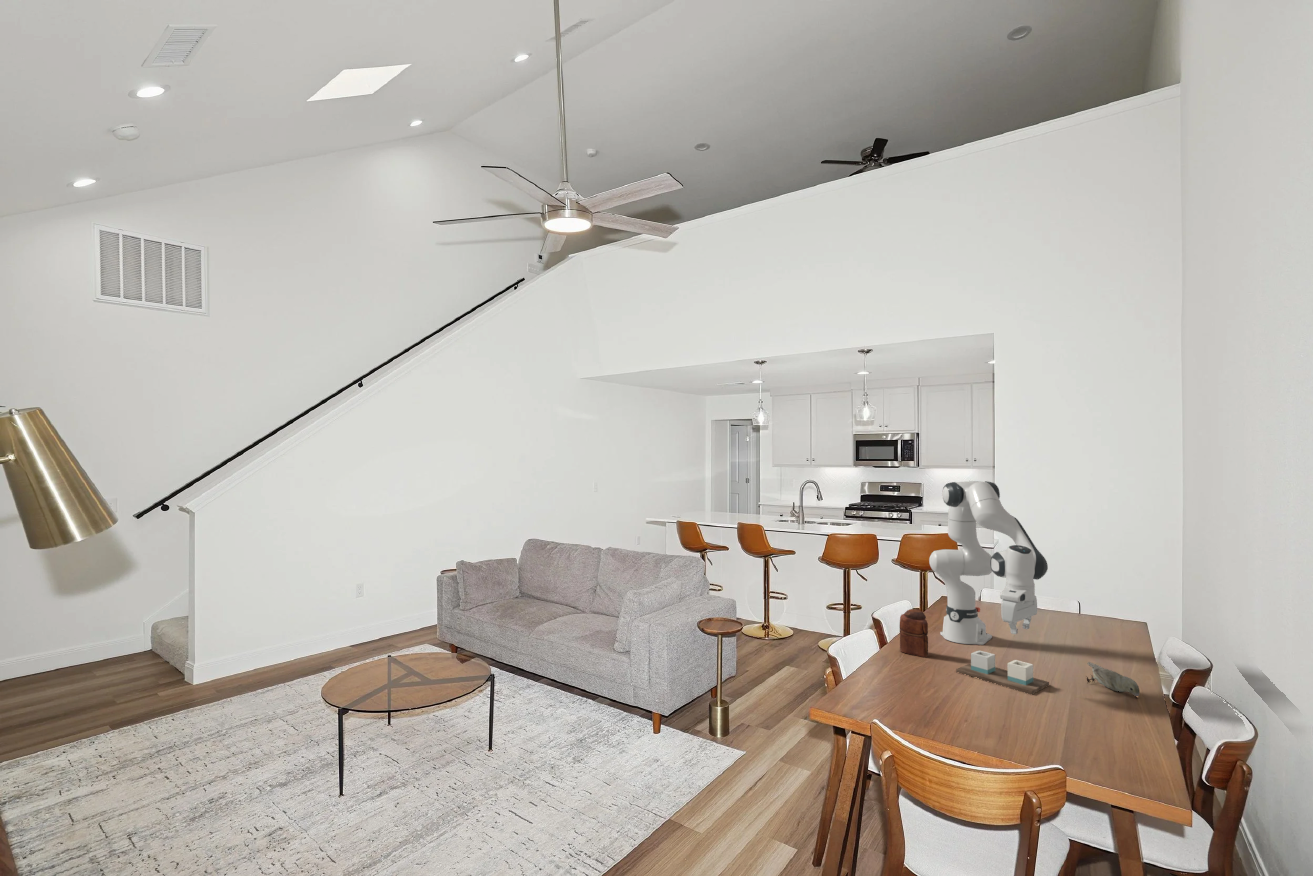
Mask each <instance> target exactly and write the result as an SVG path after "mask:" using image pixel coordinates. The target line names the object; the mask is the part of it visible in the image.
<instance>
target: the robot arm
mask: <svg viewBox="0 0 1313 876" xmlns="http://www.w3.org/2000/svg"><path fill="white" fill-rule="evenodd" d="M1000 493H1001V492H1000V489H999V487H998V485H997V484H996V483H995V482H991V481H988V480H987V481H980V480H969V481H959V482H956V481H952V482H947V483H946V484H945V485H944V486H943V488H942V493H941V494H942V495H941V496H942V499H943V503H944V504H945V505H946V506H948V514H947V515H948V516H947V534H948V537H949V538H950V539H951V540H952V541H954V542H955V543H958V544H959V545H961V546H962V549H948V548H947V549H946V548H944V549H943V548H942V549H938V550H933V552H931V554H930V556H929V558H928V561H929V562H928V563H929V566H930V568H931V570H932V571H933V572H934V573H936V574H937V575H938V576H939V577H940V578H941V579H942V581H943V583H944V585H945V587H946V596H947V597H946V599H947V605H946V608H945V611H946V615H944V616H943V624H942V631H940V632H939V634H940V635H941V636H942V638H944V639H945V640H947V641H948V642H949V641H950V642H953V643H957V644H965V645H979V646H981V645H982V646H983V645H985V644H986V643H988V642H989V641H990V640H991V639H992V638H993V635H992V634H990V633H988V632H987V628H986V627H987V625H986V623H985V622H984V621H983V620H982V619H981V618H980V617H979V615H978V613H980V612H981V607H978V606H976V590H975V589H974V587H972V586H971V585H970V584H968V583H966V582H965V581H962V580H961V576H965V577H966V576H967V577H968V576H970V577H972V576H973V577H981V576H988V575H991V573H993V574H994V575H996V576H997V577H1000V578H1006V581H1005V586H1004V588H1003V590H1002V591H1001V592H1000V594H999V598H1000V599H1001V603H1000V605H1001V607H1000V609H1001V611H1000V612H1001V619H1002V622H1005V623H1007V624H1008V626H1009V628H1010V634H1012V635H1017V634H1018V630H1019V629H1018V628H1017V625H1018V622H1020V621H1023V623H1022V629H1023V630H1029V629H1030V624H1031V621H1032V617H1034V616H1036V615H1037V613H1038V599H1037V596H1036V595H1035V593H1036V592H1035V591H1036V589H1035V588H1036V586H1035V581H1034V580H1036V581H1038V580H1040V579H1041V578H1043V577H1044V576H1045V575H1046V574H1047V572H1048V561H1047V559H1046V558H1045V556H1044V555H1043V554H1042V553H1041V552H1040V550H1038V548H1037V547H1036V545H1035V544H1034V542H1033V541H1032V539H1031V538H1030V536H1029V535H1028V533H1027V531H1026V530H1025V528H1024V526H1023V525H1022V524H1021V522H1020V521H1019V519H1018V518H1016V517H1015V516H1013V515H1012V514H1011V513H1009V511H1007V510H1006V508H1004V506H1003V504H1002V502H1001V500H1000V497H1001V494H1000ZM977 524H978V525H979V526H981V527H983V528H985V529H987V530H990V531H993V532H994V531H995V532H998V533H1002V534H1004V535H1006V536H1008V537H1009V538H1011V539H1012V541H1013V542H1014V544H1013V545H1012V544H1011V545H1009V546H1008V547H1007V549H1004V550H1001V551H996V552H995V553H993V554H992V555H991V554H990V553H989V552H988V551H987V550H985V549H984V548H983V547H982V546H981V544H980V542H979V540H978V539H979V538H978V534H977V533H978V532H977Z"/></svg>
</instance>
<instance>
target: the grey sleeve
mask: <svg viewBox="0 0 1313 876" xmlns="http://www.w3.org/2000/svg"><path fill="white" fill-rule="evenodd" d="M983 655H984V656H983ZM970 663H971V670H974V671H978V672H981V673H985V674H989V673H992V672H994V671H995V667H996V654H994V653H991V652H987V651H984V650H980V649H979V650H976V651H973V652H971V653H970Z"/></svg>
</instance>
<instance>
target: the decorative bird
mask: <svg viewBox="0 0 1313 876" xmlns="http://www.w3.org/2000/svg"><path fill="white" fill-rule="evenodd" d="M1087 665H1088V666H1089V667H1091V669H1092V673H1093V674H1092V675H1091V678H1090V679H1089V676H1086V681H1087V684H1089V683H1094V682H1095V681H1097V682H1098V683H1099V684H1100V685H1103V686H1104V687H1106V688H1108V689H1110V690H1112V691H1115V692H1118V691H1119V693H1125V692H1128V693H1130V694H1131V695H1132V696H1133V695H1134V696H1133V697H1135V696H1139V697H1140V687H1139V684H1138V683H1137V682H1136V681H1135V680H1134V679H1132V678H1131V677H1128V676H1125V675H1122V674H1120V673H1119V672H1116V671H1114V670H1111V669H1107V668H1104V667H1102V666H1101V665H1098V664H1097V663H1093V662H1090V661H1087ZM1091 681H1092V682H1091Z"/></svg>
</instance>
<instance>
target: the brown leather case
mask: <svg viewBox="0 0 1313 876" xmlns="http://www.w3.org/2000/svg"><path fill="white" fill-rule="evenodd" d="M926 619H927V616H926V615H925V613H924V612H923V611H921V610H920V609H915V608H910V609H907V610H906V611H905V612H904V613H901V615H900V618H899V651H900V652H901V653H904V654H908V655H912V656H917V657H922V658H928V657H929V656H928V655H929V636H928V635H929V624H928V620H926Z"/></svg>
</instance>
